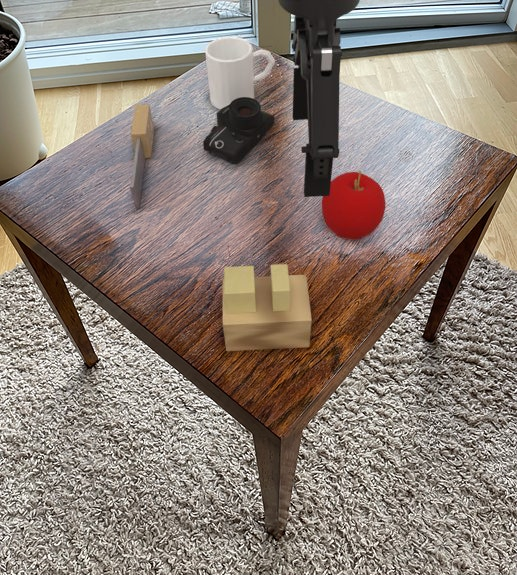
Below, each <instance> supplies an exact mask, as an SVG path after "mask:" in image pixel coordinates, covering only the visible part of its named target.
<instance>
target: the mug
mask: <svg viewBox="0 0 517 575" xmlns="http://www.w3.org/2000/svg"><path fill="white" fill-rule="evenodd" d="M205 46H206V47H205V48H204V52H205V53H204V54H205V61H206V71H207V72H206V73H207V79H208V80H207V81H208V91H209V98H210V100H209V101H210V103H211V105H212V106H213V107H214V108H216V109H218V110H219V111H220V110H221V109H222V108H224V107H226V106H228V105H230V103H231V102H232V101H233V100H235V99H237V98H240V97H249V98H253V99H255V83H256V82H260V81H262V80H263V79H265V78H266V77H268V76H269V75H270V73H271V71H272V69H273V67H274V65H275V64H276V60H275V58H274V57H273V55H272V54H271V52H270V51H269V50H266V49H262V48H261V49H259V50H255V51H253V50H254V48H253V45H252V44H251V43H250V42H249V41H248V40H247V39H244V38H242V37H238V36H222V37H218V38H216V39H214V40H212V41H210V42H209V43H208V44H207V45H205ZM259 57H262V58H265V59H266V60H267V62H268V63H267V64H266V67H265V69H264V70H263V71H262V72H260V73H258V74H256V75H254V59H255V58H259Z"/></svg>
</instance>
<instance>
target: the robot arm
mask: <svg viewBox="0 0 517 575" xmlns="http://www.w3.org/2000/svg"><path fill="white" fill-rule="evenodd" d="M277 1H278V4H279V5H280V7H281V8H282V9H283V10H284V11H285V12H287V13H288V14H290V15H291V16H294V19H293V23H294V24H293V25H294V26H293V37H292V43H291V49H292V52H293V53H294V55H293V57H292V63H293V65H294V66H297V67H293V78H292V79H293V80H292V121H305V120H307V132H308V136H307V137H308V143H305V146H301V147H300V149H301V150H300V151H301V154H305V161H304V179H303V182H304V183H303V197H304V198H313V197H314V198H316V197H323V196H330V186H331V181H332V174H333V164H334V159H338V158H339V157H340V148H339V147H340V146H339V144H340V140H339V139H340V80H341V79H340V77H341V76H340V73H341V62H342V61H341V60H342V59H341V58H342V56H343V49H342V47H341V42H342V40H341V28H340V27H337V21H338V19H340V18H341V17H343V16H345V15H348V14H350V13H351V12H353V11H354V10H355V9H356V8H357V7H358V5H359V3H360V1H361V0H277Z"/></svg>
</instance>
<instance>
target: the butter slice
mask: <svg viewBox="0 0 517 575" xmlns="http://www.w3.org/2000/svg"><path fill="white" fill-rule="evenodd" d="M289 275H290V274H289V266H288V264H287V263H281V264H270V276H271V292H272V306H273V311H289V310H290V285H289Z"/></svg>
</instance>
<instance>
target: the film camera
mask: <svg viewBox="0 0 517 575" xmlns="http://www.w3.org/2000/svg"><path fill="white" fill-rule="evenodd" d="M261 106H262V105H261V103H260V102H259V101H258V100H256V99H255V98H254V99H253V98H249V97H240V98H237V99H235V100H233V101H232V102H231V103H230V105H228V106H226V107H224V108H222V109H221V110H220V109H219V110H218V111H217V112H216V125H214V126H213V127H212V128H211V130H210V131H209V133H208V134H207V135H206V136H205V137H204V139H203V141H202V143H203V144H202V145H203V146H202V147H203V150H204V151H206V152H208V154H210V155H211V154H212V155H214V156H216V157H219V158H221V159H223V160H225V161H227V162H228V163H229V162H230V163H232V164H235V165H237V164H239V163H240V162H241V161H242V160H243V159H244V158H245V157H246V156H247V155H248V154H249V153H250V152H251V151H252V150H253V149H254V148H255V147H256V146H257V144H258V143H259V142H260V141H261V140H263V138H264V137H265V136H266V135H267V133H268V131H270V129H272V128H273V125H274V124H275V115H273V114H271V113H267V112H265V111H263V110H262V107H261Z"/></svg>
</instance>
